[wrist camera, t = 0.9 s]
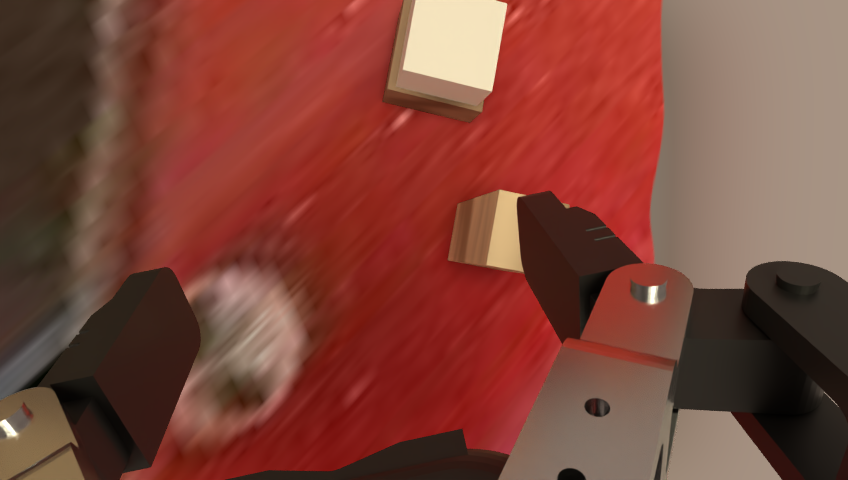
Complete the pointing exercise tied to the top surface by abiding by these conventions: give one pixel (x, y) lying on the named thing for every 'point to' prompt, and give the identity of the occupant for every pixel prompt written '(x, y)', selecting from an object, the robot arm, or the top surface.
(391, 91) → the slab base
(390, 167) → the top surface
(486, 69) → the slab top
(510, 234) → the pillar
